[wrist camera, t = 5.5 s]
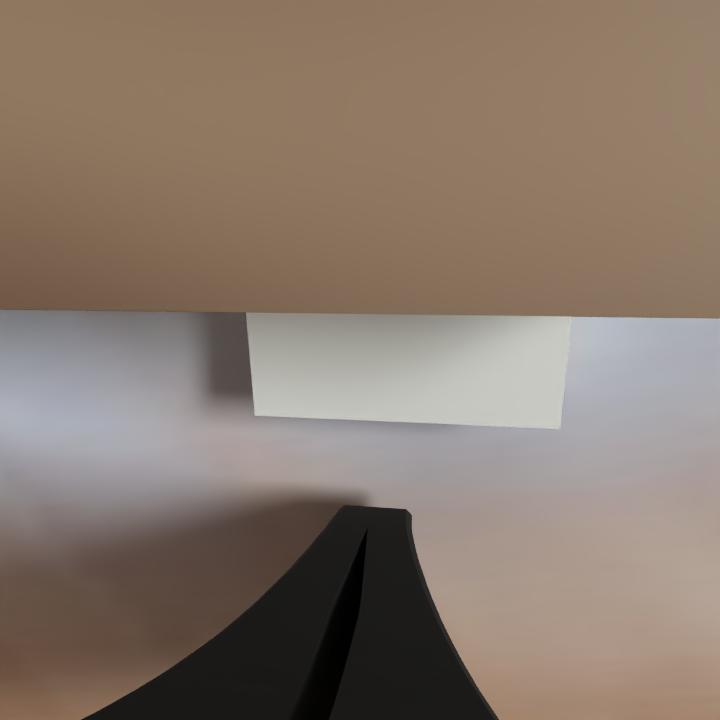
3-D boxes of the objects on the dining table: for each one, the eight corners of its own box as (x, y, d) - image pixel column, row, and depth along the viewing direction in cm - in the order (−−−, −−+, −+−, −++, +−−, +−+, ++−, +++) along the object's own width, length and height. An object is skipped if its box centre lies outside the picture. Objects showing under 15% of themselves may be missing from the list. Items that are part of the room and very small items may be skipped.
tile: (538, 378, 11) (559, 428, 9) (288, 370, 12) (254, 415, 10) (593, -215, 8) (643, -342, 6) (252, -179, 9) (193, -282, 7)
